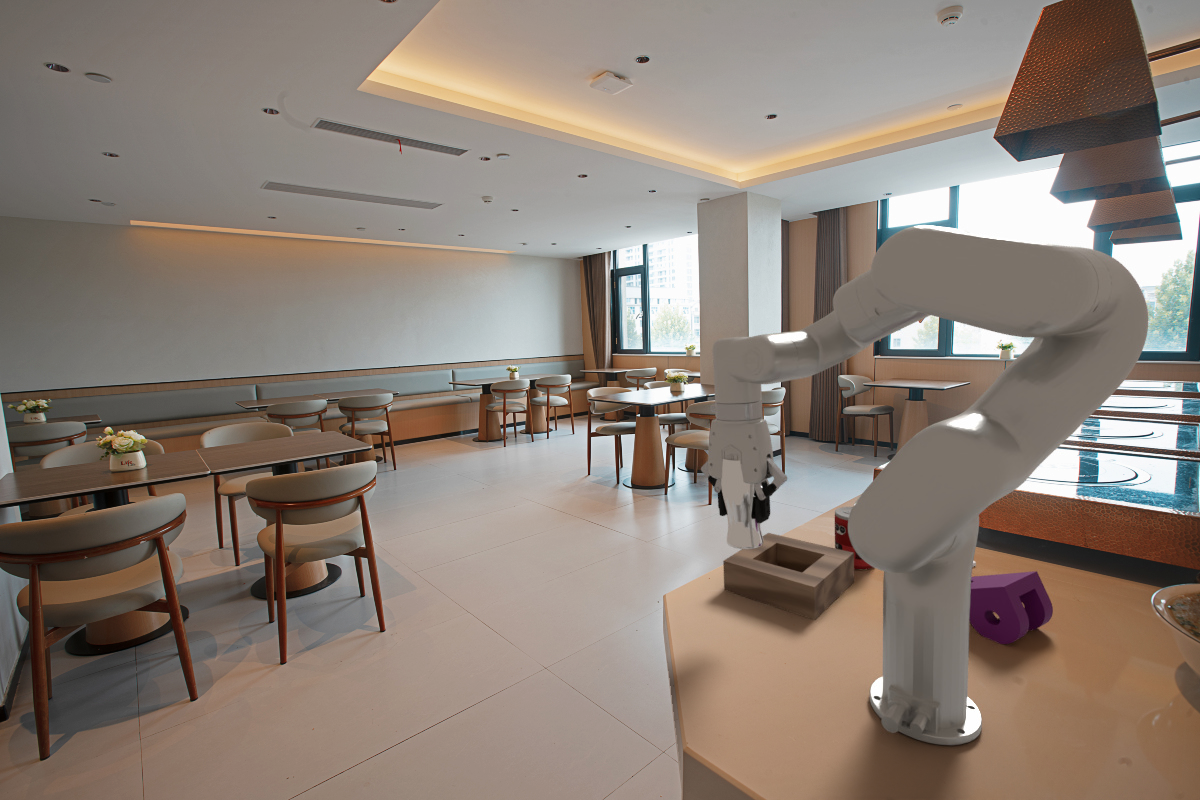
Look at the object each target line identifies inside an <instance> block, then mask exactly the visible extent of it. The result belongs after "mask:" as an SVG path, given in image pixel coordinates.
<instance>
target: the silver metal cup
mask: <svg viewBox="0 0 1200 800" xmlns="http://www.w3.org/2000/svg"><path fill="white" fill-rule="evenodd" d="M722 462H723V465H722V479H721V480H720V482H721V491H722V496H723V500H724V505H725V509H726V513H727V515H726V517H727V535H726V544H727V545H728V546H729V547H732V548H733V549H739V550H741V549H754V548H758V547H760V546H762V545H763V543H764V541H763V536H764V535H763V532H762V529H761V528H762V527H761V523H757V522H756V512H755V500H756V499H758V496H757V493H756V491H755V484H748V483H745V482H744V481H743V475H742V470H741V465H742V464H741V465H740V460H728V459H722ZM761 484H762V487H763V482H762V483H761Z"/></svg>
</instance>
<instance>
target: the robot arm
mask: <svg viewBox="0 0 1200 800" xmlns="http://www.w3.org/2000/svg"><path fill="white" fill-rule="evenodd" d="M832 307H833V310H832V311H831V312H830V313H828V314H827V315H826V316H823V317H822V318H820V319H818V320H816V321H814V323H811V324H810V325H807V326H806V327H804V328H802V329H800V330H796V331H784V332H773V333H765V334H763V333H762V334H758V335H754V336H734V337H724V338H719V339H717V340H715V341H714V342H713V344H712V365H713V369H712V370H713V385H714V388H713V389H714V401H715V402H714V404H710V406H709V410H710V412H711V413H714V414H715V415H714V416H715V419H712V420H711V424H710V430H709V437H708V438H709V439H708V450H707V451H708V453H707V454H708V456H707V457H708V460H706V462H705V463H704V464H703V465H702V466H701V467H700V471H701V472H702V473H703V475H704V476H705V477H706V478H707V480H708V482H709V483H710V484H711V486H712V487H713V490H714V492H715V493H716V494H717V507H718V512H719V516H721V517H724V516H727V513H726V509H725V505H724V500H723V496H722V491H721V482H720V480H721V479H722V465H723V462H722V459H728V460H740V465H741V464H742V465H741V470H742V475H743V481H744V482H745V483H748V484H755V491H756V493H757V496H758V499H756V500H755V512H756V522H757V523H760V524H762V523H764V522H766V521H768V520H769V519H770V517H771V500H770V499H771V498H770V497H772V496H773V494H775V492H776V491H778V490H779V489H780V487H781V486H783V485H784V484H785V482H786V481H788V476H787V475H786V473H785V472H784V471H783V470H782V469H781V468H780V467H779V466H778V464H776V463H775V461H774V453H773V445H772V439H771V434H770V428H769V426H768V423H767V422H768V421H767V420H766V419H764V417H763V414H764V413H763V400H762V399H763V397H762V396H763V395H762V385H773V384H777V383H778V384H779V383H783V382H788V381H793V380H800V379H805V378H808V377H812V376H815V375H816V374H819V373H821V372H824V371H826V370H828V369H830V368H832V367H834V366H836V365H838V364H840V363H843V362H845V361H847V360H848V359H850V358H852V357H854V356H856V355H857V354H859V353H861V351H864V350H865V349H867V348H869V347H870V345H872V344H873V343H876V342H877V341H879V340H881V339H883V338H885V337H888V336H890V335H891V334H894V333H895V332H898V331H900V330H902V329H905V328H906V327H908V326H911V325H913V324H915V323H917V322H919V321H921V320H923V319H925V318H927V317H930V316H933V317H936V318H940V319H944V320H948V321H952V322H956V323H960V324H964V325H968V326H971V327H974V328H979V329H981V330H986V331H991V332H994V333H998V334H1002V335H1007V336H1013V337H1021V338H1033V340H1031V342H1030V344H1029V345H1028V346H1027V348H1025V350H1023V352H1022V353H1021V354H1019V355H1018V356H1017V357H1016V358H1015V359H1014V360H1012V362H1011V363H1010V364H1009V365H1008V366H1007V367H1006V368H1005V369H1004V370H1003V371H1002V372H1001V373H1000V374H999V375H998V377H997V378H996V379H995V380H994V382H993V383H992V384H991V385H990V386H989V387H988V388H987V389H986V391H984V392H983V394H981V395H980V397H978V398H977V400H976V401H974V403H973V404H971V405H970V406H969V407H968V408H967V409H965V411H963V412H961V413H960V414H957V415H955V416H952V417H949V418H947V419H944V420H941V421H938V422H935V423H933V424H931V425H928V426H927V427H925V428H923V429H922V430H920V431H918V432H917V433H916V434H914V435H913V437H911V438H910V439H908V441H906V443H905V444H904V445H903V446H902V447H901V448H900V449H899V450H898V451H897V452H896V454H895V455H894V456H893V457H892V458H891V460H890V461H888V463H887V464H886V465H885V466H884V468H882V470H881V471H880V472H879V473H878V474H877V476H876V477H875V478H874V479H873V480H872V482H871V483H870V484H869V485H868V486H867V487H866V488H865V490H863V492H862V493H861V494H860V496H858V498H857V500H856V501H855V502H854V503H853V506H851V507H852V509H851V512H850V515H849V519H848V534H849V538H850V541H851V544H852V546H853V548H854V550H855V551H856V553H857V554H858V555H859V556H860V557H861V558H862V559H863V560H864V561H865V562H866V563H868V564H869V565H871V566H872V567H873V568H874V569H876V570H879V571H881V572H883V577H882V579H883V581H882V585H883V586H882V587H883V588H882V676H880V677H877V678H876V679H875V680H874V681H873V682H872V683H871V685H870V687H869V702H870V705H871V707H872V709H873V711H874V712H875V714H876V715H877V716H878V717H879V718H880V719H881V721H880V722H881V725H882V727H883V729H885V730H886V731H887V732H889V733H891V734H895V733H898V732H900V733H901V734H903V735H906V736H908V737H910V738H913V739H915V740H916V741H917V740H918V741H921V742H924V743H928V744H934V745H938V746H939V745H941V746H942V745H943V746H956V745H962V744H963V745H964V744H966V743H970V742H972V741H974V740H975V739H976V738H978V737H979V735H980V734H981V731H982V726H983V718H982V713H981V711H980V710H979V708H978V706H977V705H976V703H974V701H973V700H972V699H971V698H969V697H968V693H969V692H968V691H969V689H968V688H969V686H968V685H969V657H970V656H969V653H970V651H969V649H970V648H969V647H970V621H969V618H970V594H971V577H973V576H972V575H973V567H972V566H973V561H975V559H974V558H975V553H976V547H977V543H978V535H979V531H980V529H979V528H980V527H979V526H980V517H979V515H980V514H981V513H982V512H984V511H985V510H986V509H987V508H988V507H989V506H991V505H992V504H994V503H995V502H997V501H998V500H1000V499H1002V498H1004V497H1005V496H1007V495H1008V494H1010V493H1012V492H1014V491H1015V490H1017V489H1018V488H1019V487H1021V486H1022V485H1023V484H1024V483H1025V482H1026V480H1028V479H1029V477H1031V476H1032V474H1033V473H1034V472H1035V470H1037V468H1039V466H1040V465H1041V464H1042V463H1043V462H1044V461H1045V460H1046V459H1048V457H1050V455H1051V454H1052V453H1054V451H1056V450H1057V449H1058V448H1059V447H1060V446H1061V445H1062V444H1063V443H1065V442H1066V440H1067V439H1068V438H1070V437H1071V436H1072V435H1073V434H1074V433H1075V432H1076V431H1077V429H1079V427H1081V425H1082V424H1083V423H1085V421H1087V419H1089V418H1090V417H1091V416H1092V415H1093V414H1094V413H1095V412H1096V411H1097V410H1099V408H1100V407H1101V406H1102V405H1103V404H1105V402H1106V401H1107V400H1108V399H1109V398H1110V397H1111V396H1112V395H1113V394H1114V393H1115V392H1116V391H1117V389H1119V387H1120V386H1121V385H1122V384H1123V383H1124V381H1125V380H1126V379H1127V377H1128V376H1129V375H1130V373H1132V371H1133V370H1134V368H1135V366H1136V364H1137V362H1138V361H1139V358H1140V356H1141V355H1142V352H1143V349H1144V348H1145V347H1144V346H1145V344H1146V341H1147V336H1148V331H1149V310H1148V304H1147V302H1146V297H1145V296H1144V293H1143V291H1142V288H1141V287H1140V285H1139V283H1138V281H1137V280H1136V278H1135V277H1134V276H1133V274H1132V273H1131V272H1130V270H1129V269H1127V268H1126V267H1125V265H1123V263H1122V262H1120V261H1119V260H1117V259H1116V258H1114V257H1112V256H1111V255H1109V254H1107V253H1105V252H1102V251H1100V250H1096V249H1092V248H1089V247H1081V246H1068V245H1059V244H1049V243H1041V242H1036V241H1035V242H1033V241H1028V240H1027V241H1024V240H1019V239H1011V238H1002V237H997V236H995V237H994V236H989V235H982V234H974V233H971V232H969V231H966V230H963V229H959V228H954V227H946V226H938V225H937V226H936V225H927V224H922V225H914V226H910V227H906V228H903V229H901V230H900V231H897V232H895V233H894V234H893V235H891V236H890V237H888V238H887V239H886V240H885V241H884V242H883V243H882V244H881V245H880V247H879V248H878V249H877V251H876V253H875V255H874V256H873V259H872V262H871V264H870V269H868V270H867V271H865V272H863V273H862V274H860V275H858V276H855V278H854V279H852V280H849V281H847V282H846V283H845V284H842V285H841V286H840V287H838V289H837V290H835V293H834V295H833V298H832ZM770 478H773V481H771V482H769V480H768V479H770ZM762 482H763V487H762V484H761V483H762Z"/></svg>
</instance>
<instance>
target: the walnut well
mask: <svg viewBox="0 0 1200 800" xmlns="http://www.w3.org/2000/svg"><path fill="white" fill-rule="evenodd" d="M762 536H763V541H764V543H763V545H762V546H760V547H758V548H754V549H739V550H738V551H737V552H735V553H734V554H731V555H730V556H729V557H727V558H725V559H724V560H723V561H722V562H723V564H722V565H723V587H724V588H723V590H724V591H726V592H729V593H732V594H736V595H739V596H741V597H745V598H747V599H750V600H753V601H757V602H759V601H760V603H763V604H765V605H768V606H770V607H774V608H776V609H777V608H778V609H780V610H783V611H786V612H790V613H792V614H795V615H798V616H802V617H804V618H805V617H806V618H808V619H811V620H815V621H816V620H817V619H818V618H819V617H820V616H821V614H823V613H824V612H825V611H826V610H827V609H828V608H829V607H830V606H831V605H832V604H833V603H835V601H836V600H837V599H838V598H839V597H840V596H841V595H843V593H844V592H845V591H847V590H848V589H849V587H850V586H852V584H854V583H855V569H854V553H853V552H849V551H844V550H840V549H836V548H835V547H831V546H827V545H823V544H818V543H814V542H809V541H806V540H800V539H798V538H797V539H796V538H792V537H788V536H785V535H784V536H783V535H780V534H775V533H772V532H771V533H770V532H767V533H766V534H764V535H762Z"/></svg>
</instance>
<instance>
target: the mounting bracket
mask: <svg viewBox="0 0 1200 800" xmlns="http://www.w3.org/2000/svg"><path fill="white" fill-rule="evenodd" d="M1053 608H1054V607H1053V603H1052V601H1051V599H1050V596H1049V594H1048V592H1047V590H1046V588H1045V586H1044V583H1043V581H1042V579H1041V577H1040V575H1039V573H1038V570H1036V571H1035V570H1034V571H1024V572H1023V571H1022V572H1012V573H1011V572H1010V573H1001V574H999V573H998V574H990V575H989V574H985V575H977V576H971V594H970V618H969V624H971V626H972V628H974V630H975V631H976V632H977V633H978V634H979V635H981V636H982V637H984V638H986V639H988V640H990V641H993V642H996V643H997V644H999V645H1009V644H1012V643H1014V642H1015V641H1017V640H1019V639H1021V638H1023V637H1024V636H1026V634H1027V633H1028V631H1034V630H1037V629H1039V628H1040V627H1042V626H1044V625H1046V624H1048V623H1049V622H1050V620H1051V619H1052V617H1053V615H1054V614H1053V613H1054V609H1053ZM995 614H996V615H997V616H998V617H996V615H995Z"/></svg>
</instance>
